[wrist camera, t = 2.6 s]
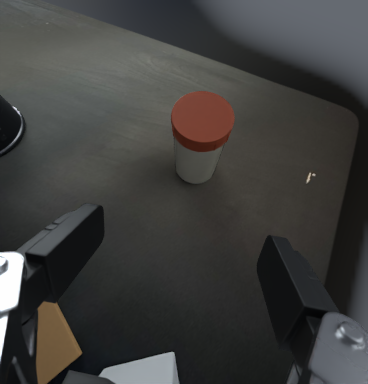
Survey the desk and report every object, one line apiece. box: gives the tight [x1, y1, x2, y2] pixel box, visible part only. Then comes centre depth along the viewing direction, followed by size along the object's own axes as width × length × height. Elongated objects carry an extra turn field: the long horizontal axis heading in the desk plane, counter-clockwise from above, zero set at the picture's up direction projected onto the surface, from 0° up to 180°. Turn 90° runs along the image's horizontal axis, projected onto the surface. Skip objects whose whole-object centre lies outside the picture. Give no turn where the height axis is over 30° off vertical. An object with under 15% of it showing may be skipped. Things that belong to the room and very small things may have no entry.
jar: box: [174, 137, 225, 184], centre depth 23 cm, size 6×6×9 cm
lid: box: [171, 91, 234, 153], centre depth 19 cm, size 6×6×2 cm
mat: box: [36, 302, 82, 384], centre depth 20 cm, size 11×9×1 cm
